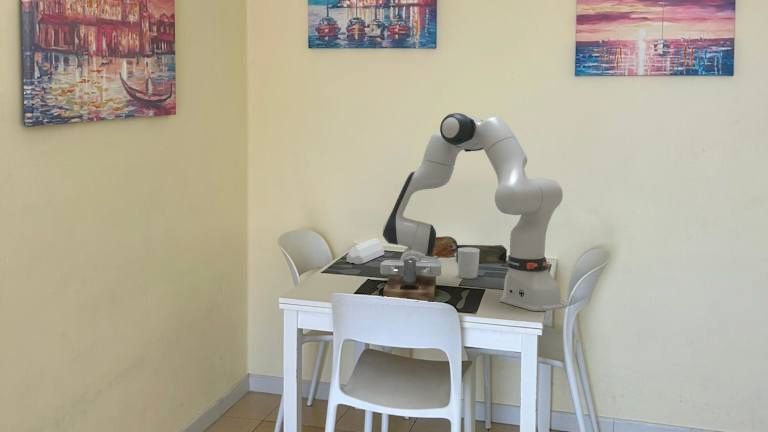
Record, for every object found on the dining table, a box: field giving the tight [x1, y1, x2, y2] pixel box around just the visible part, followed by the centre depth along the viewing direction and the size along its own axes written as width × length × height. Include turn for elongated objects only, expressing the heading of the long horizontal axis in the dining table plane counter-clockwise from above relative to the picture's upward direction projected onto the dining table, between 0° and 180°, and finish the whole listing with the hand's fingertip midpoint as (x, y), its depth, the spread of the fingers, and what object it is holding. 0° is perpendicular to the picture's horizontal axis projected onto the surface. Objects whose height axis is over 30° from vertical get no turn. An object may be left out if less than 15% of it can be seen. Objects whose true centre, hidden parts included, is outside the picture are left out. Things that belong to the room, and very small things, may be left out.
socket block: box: [382, 275, 437, 302], centre depth 286 cm, size 16×24×3 cm, turn 175°
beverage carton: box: [455, 244, 508, 264], centre depth 337 cm, size 8×19×7 cm, turn 94°
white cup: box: [457, 248, 480, 280], centre depth 310 cm, size 8×8×10 cm
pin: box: [403, 259, 416, 290], centre depth 279 cm, size 4×4×12 cm
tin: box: [431, 235, 458, 259], centre depth 345 cm, size 15×3×8 cm, turn 104°
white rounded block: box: [346, 237, 385, 265], centre depth 340 cm, size 7×7×24 cm
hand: (409, 273), depth 278 cm, fingers open, 8 cm apart
